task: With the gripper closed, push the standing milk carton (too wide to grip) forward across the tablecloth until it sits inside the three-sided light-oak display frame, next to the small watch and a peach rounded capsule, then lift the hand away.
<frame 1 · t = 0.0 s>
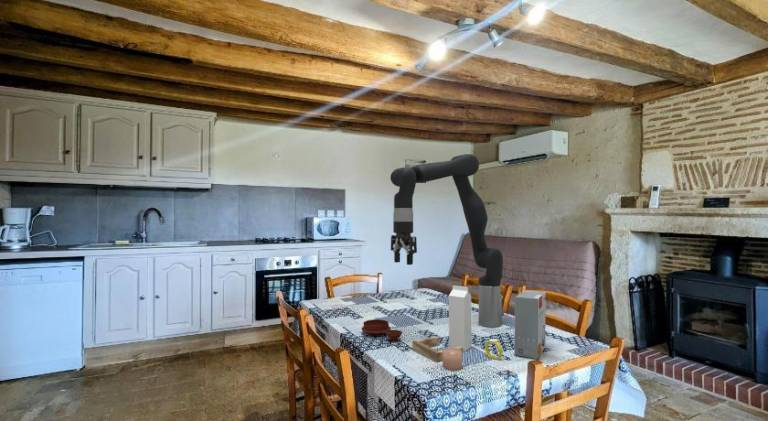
hand: (403, 263, 145), 29 cm above the table, tool pointing down, fingers open, 8 cm apart
watch: (493, 358, 128), on the table
display frame: (440, 352, 133), on the table
hard drive box: (530, 351, 135), on the table
peach rounded capsule: (452, 366, 121), on the table
milk: (460, 348, 138), on the table
pottery: (382, 336, 152), on the table
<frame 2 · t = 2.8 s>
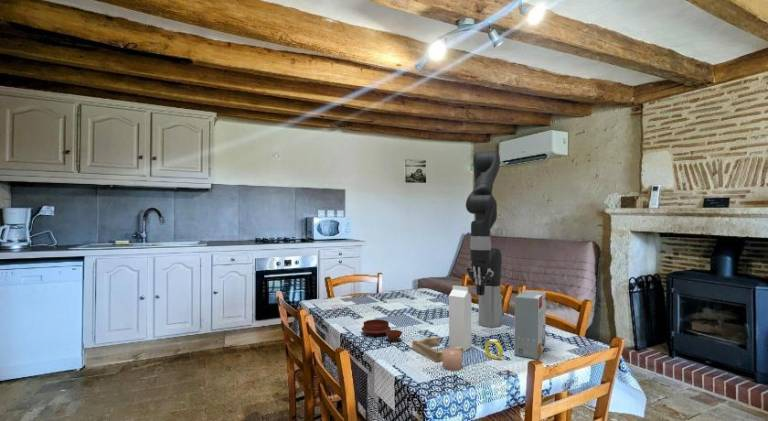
hand: (480, 294, 143), 18 cm above the table, tool pointing down, fingers closed
nothing on the table moved.
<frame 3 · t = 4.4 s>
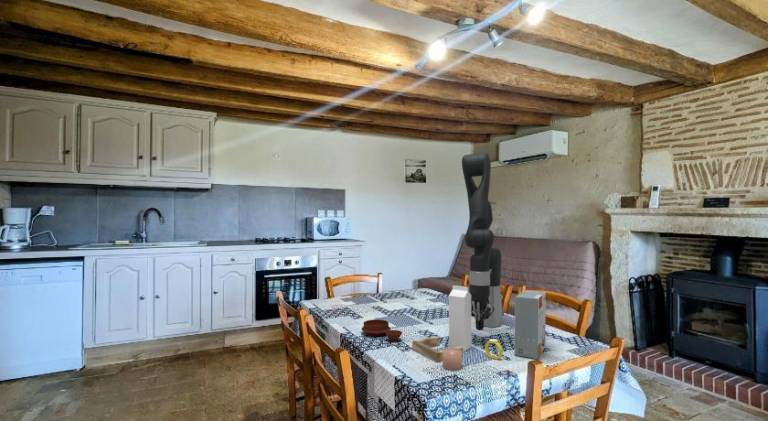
hand: (479, 329, 143), 5 cm above the table, tool pointing down, fingers closed
nothing on the table moved.
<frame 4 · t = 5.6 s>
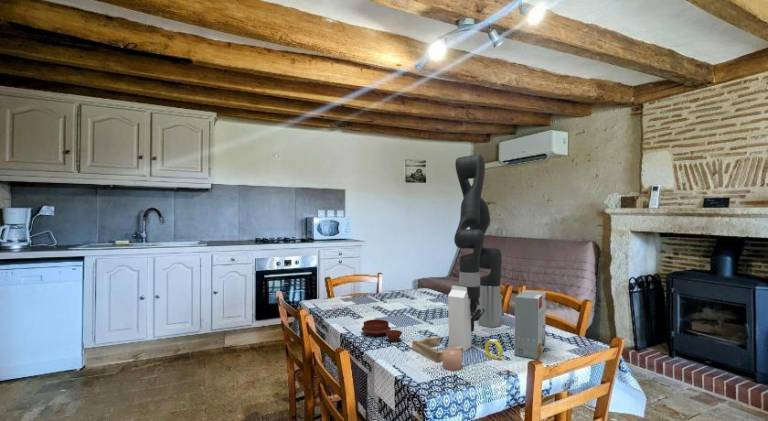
hand: (469, 331, 140), 5 cm above the table, tool pointing down, fingers closed
milk: (460, 348, 138), on the table, touching gripper
everything else where it was.
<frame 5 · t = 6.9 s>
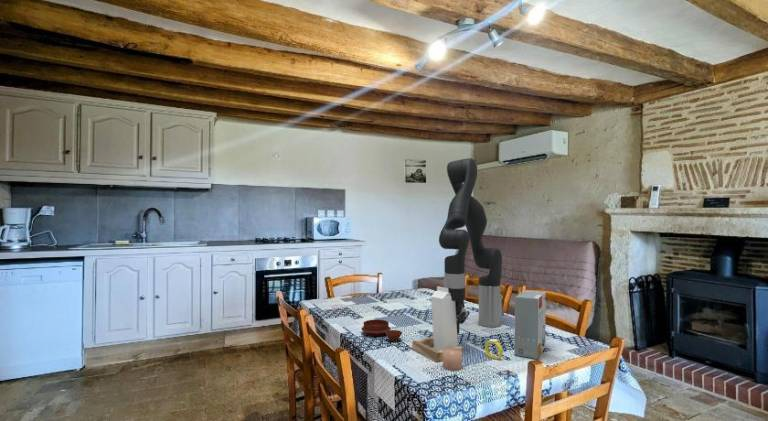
hand: (455, 334, 136), 5 cm above the table, tool pointing down, fingers closed
milk: (446, 350, 135), on the table, touching gripper, hand
everything else where it was.
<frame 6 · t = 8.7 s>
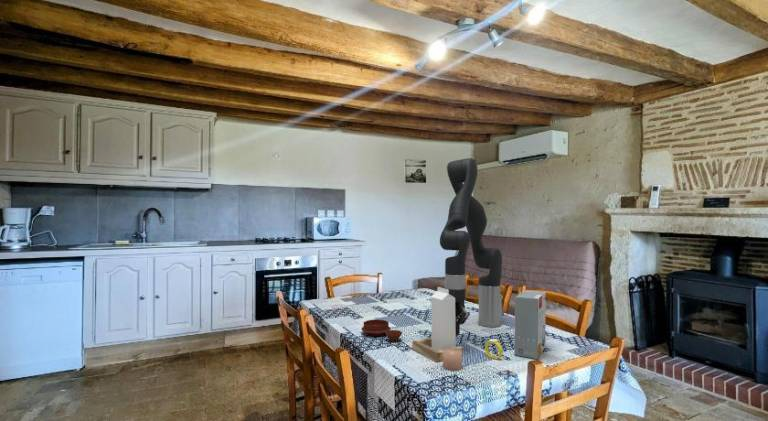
hand: (455, 335, 137), 5 cm above the table, tool pointing down, fingers closed
milk: (443, 351, 134), on the table
everything else where it was.
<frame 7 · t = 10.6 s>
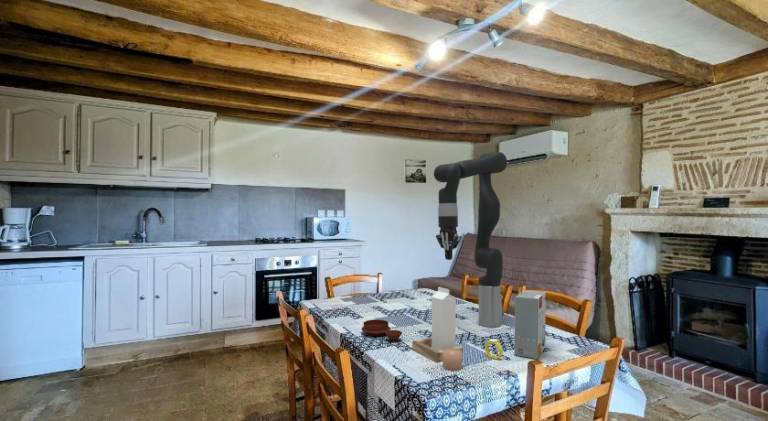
hand: (448, 259, 150), 30 cm above the table, tool pointing down, fingers closed
nothing on the table moved.
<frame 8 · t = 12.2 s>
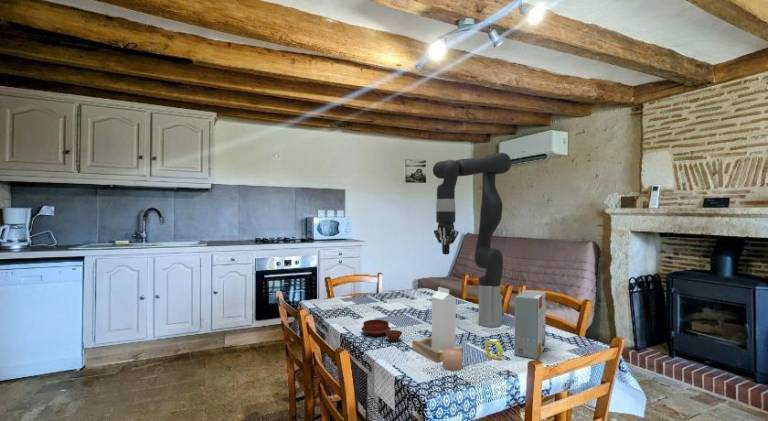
hand: (445, 254, 153), 32 cm above the table, tool pointing down, fingers closed
nothing on the table moved.
at the end: milk inside the target area (2.4 cm from its centre), on the table; milk tilted 0°; milk moved 7.6 cm from its start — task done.
